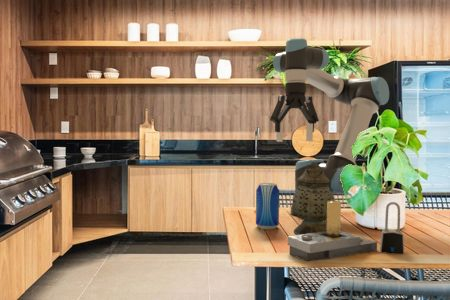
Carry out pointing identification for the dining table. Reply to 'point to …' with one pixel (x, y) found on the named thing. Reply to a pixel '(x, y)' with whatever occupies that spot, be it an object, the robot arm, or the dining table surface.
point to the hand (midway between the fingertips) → (294, 141)
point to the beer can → (267, 206)
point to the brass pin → (333, 219)
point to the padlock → (392, 236)
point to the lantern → (312, 200)
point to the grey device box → (328, 245)
